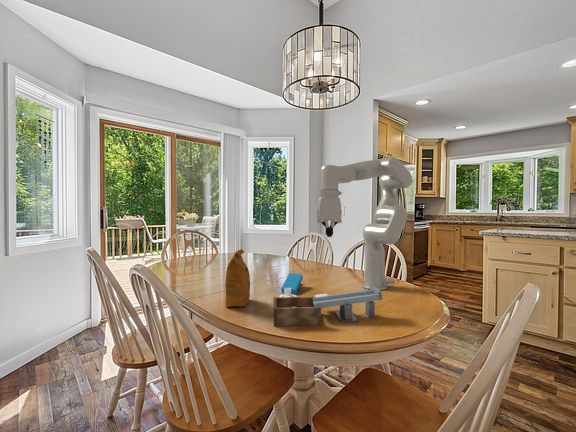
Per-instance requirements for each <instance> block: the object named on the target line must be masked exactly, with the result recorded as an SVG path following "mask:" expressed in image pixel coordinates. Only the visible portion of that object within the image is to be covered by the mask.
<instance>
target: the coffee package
mask: <svg viewBox="0 0 576 432" xmlns="http://www.w3.org/2000/svg"><path fill="white" fill-rule="evenodd" d="M244 253H245V251H244V250H243V249H242V248H240V249H238V250H237V251H234V254H233V256H232V257H231V259H230V261H229V262H228V265H227V267H226V273H225V284H224V286H225V287H224V288H225V307H226V308H230V307H233V308H234V307H239V308H240V307H245V306H247V304H248V302H249V300H250V297H251V294H250V293H251V275H250V272H249V267H248V266H247V264H246V262H245V261H244V259H243V256H242V255H243V254H244Z"/></svg>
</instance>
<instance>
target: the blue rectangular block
mask: <svg viewBox="0 0 576 432" xmlns="http://www.w3.org/2000/svg"><path fill="white" fill-rule="evenodd" d="M303 278H304V277H303V274H302V273H288V275H287V276H286V279H285V280H284V282H283V284H282V286H281V288H280V290H281V294H285V293H284V289H285V288H291V294H293V295H297V293H298V291H299V288H300V285H301V284H302V281H303Z"/></svg>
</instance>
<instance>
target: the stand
mask: <svg viewBox="0 0 576 432" xmlns="http://www.w3.org/2000/svg"><path fill="white" fill-rule="evenodd" d="M375 304H376V303H375V301H369V302H365V315H366V317H367V318H368V319H375V315H376V313H375V311H376V310H375V307H376V305H375ZM334 313H335V315H336V317H337V318H338V320H339V322H340V323H358V322H359V320H358V318H357V317H356V316H355V315H354V313H353V304H345V305H340V306H339V309H335V310H334Z"/></svg>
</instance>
